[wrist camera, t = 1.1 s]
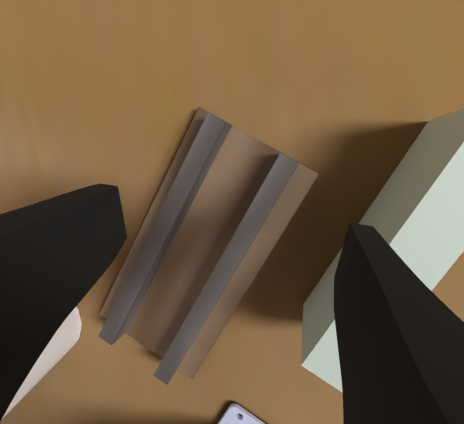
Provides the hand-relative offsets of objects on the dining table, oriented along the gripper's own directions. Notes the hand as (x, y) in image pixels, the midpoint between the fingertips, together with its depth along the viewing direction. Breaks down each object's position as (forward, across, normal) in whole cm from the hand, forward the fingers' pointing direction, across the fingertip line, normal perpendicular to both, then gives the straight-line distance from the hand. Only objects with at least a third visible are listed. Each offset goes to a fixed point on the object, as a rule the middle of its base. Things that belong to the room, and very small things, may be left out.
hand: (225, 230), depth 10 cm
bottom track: (+9, +4, +9) cm, 14 cm away
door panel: (+10, -8, +6) cm, 14 cm away
